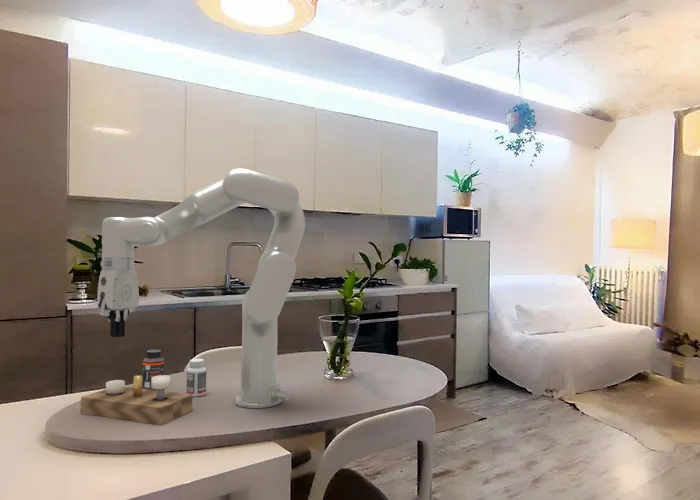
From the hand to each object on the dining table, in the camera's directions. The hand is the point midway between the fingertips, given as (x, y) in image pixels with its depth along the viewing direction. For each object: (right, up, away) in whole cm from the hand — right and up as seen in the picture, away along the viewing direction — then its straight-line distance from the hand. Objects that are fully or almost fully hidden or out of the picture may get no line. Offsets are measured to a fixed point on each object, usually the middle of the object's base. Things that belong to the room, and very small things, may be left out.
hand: (117, 336), depth 131 cm
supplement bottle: (+2, -19, +19) cm, 27 cm away
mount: (+6, -19, -2) cm, 20 cm away
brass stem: (+6, -15, -2) cm, 16 cm away
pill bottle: (+16, -19, +14) cm, 29 cm away
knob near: (+13, -15, -5) cm, 20 cm away
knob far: (0, -17, 0) cm, 17 cm away
